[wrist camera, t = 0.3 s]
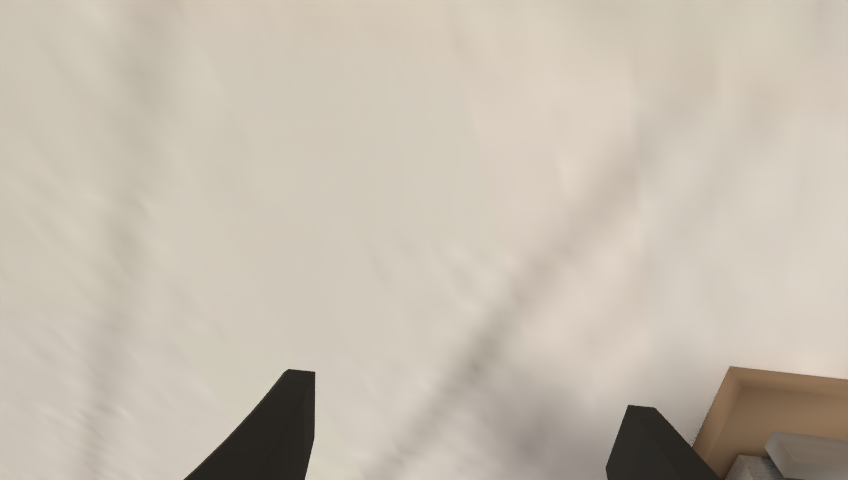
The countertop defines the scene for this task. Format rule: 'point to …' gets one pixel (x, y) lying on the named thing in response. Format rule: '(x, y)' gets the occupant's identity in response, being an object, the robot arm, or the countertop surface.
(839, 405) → the base
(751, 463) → the plunger
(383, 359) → the countertop surface
